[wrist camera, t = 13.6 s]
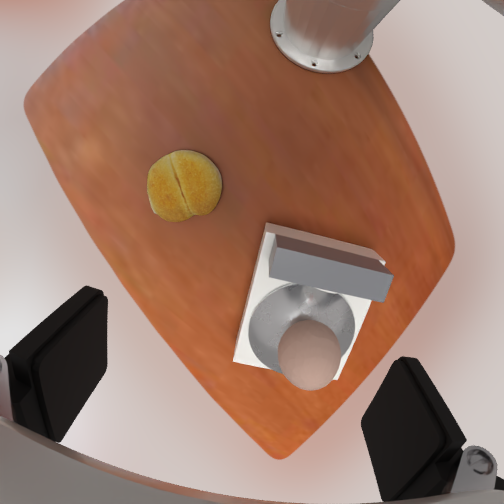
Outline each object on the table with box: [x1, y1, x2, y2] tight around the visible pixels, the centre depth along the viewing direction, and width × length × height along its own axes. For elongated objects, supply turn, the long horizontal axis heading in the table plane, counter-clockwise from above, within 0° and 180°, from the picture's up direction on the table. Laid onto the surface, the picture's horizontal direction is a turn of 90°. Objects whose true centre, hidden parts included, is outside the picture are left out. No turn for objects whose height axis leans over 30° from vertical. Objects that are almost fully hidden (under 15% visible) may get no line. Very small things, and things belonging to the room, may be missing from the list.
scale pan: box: [248, 283, 355, 374], centre depth 37 cm, size 13×13×1 cm
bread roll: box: [147, 150, 222, 222], centre depth 36 cm, size 8×9×4 cm
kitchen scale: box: [233, 222, 394, 380], centre depth 37 cm, size 17×14×10 cm
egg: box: [278, 320, 341, 390], centre depth 32 cm, size 7×7×9 cm
